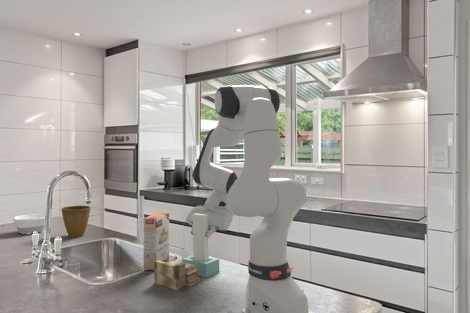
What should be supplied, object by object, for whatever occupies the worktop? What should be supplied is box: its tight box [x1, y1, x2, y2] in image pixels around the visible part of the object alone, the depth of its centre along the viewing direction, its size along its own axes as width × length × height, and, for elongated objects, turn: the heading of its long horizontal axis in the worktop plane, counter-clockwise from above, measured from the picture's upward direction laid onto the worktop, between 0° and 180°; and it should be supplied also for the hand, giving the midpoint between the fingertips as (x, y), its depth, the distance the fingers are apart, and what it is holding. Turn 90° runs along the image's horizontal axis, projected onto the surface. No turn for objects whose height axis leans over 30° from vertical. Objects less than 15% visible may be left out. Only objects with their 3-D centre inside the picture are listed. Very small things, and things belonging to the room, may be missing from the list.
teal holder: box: [182, 255, 220, 278], centre depth 145 cm, size 12×8×5 cm, turn 54°
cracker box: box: [142, 212, 170, 271], centre depth 153 cm, size 14×6×21 cm, turn 168°
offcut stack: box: [167, 259, 200, 287], centre depth 135 cm, size 14×5×6 cm, turn 54°
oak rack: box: [153, 258, 187, 291], centre depth 131 cm, size 11×4×8 cm, turn 54°
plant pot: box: [61, 205, 91, 238], centre depth 205 cm, size 15×15×16 cm
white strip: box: [192, 213, 209, 262], centre depth 144 cm, size 6×2×20 cm, turn 54°
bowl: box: [12, 213, 46, 235], centre depth 216 cm, size 18×18×9 cm
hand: (199, 235), depth 144 cm, fingers closed on white strip, 6 cm apart
